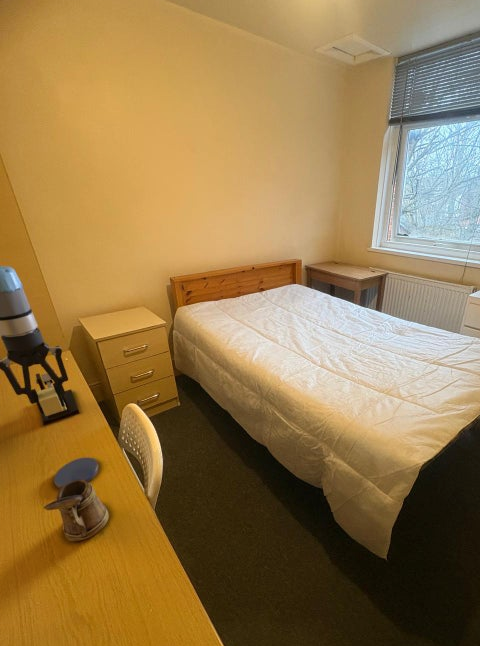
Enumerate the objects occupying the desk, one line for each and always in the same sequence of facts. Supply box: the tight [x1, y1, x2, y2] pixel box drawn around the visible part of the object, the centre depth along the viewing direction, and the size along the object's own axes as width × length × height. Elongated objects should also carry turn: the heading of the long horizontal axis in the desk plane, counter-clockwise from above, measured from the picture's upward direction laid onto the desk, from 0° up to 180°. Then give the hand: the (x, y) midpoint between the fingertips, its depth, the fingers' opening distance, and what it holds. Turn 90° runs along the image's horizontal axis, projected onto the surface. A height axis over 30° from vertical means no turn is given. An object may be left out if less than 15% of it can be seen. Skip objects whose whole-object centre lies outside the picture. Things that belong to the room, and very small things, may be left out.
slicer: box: [35, 369, 80, 426], centre depth 110 cm, size 16×10×14 cm, turn 40°
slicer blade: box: [40, 372, 71, 420], centre depth 105 cm, size 16×6×2 cm
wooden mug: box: [43, 479, 110, 542], centre depth 69 cm, size 9×14×18 cm, turn 27°
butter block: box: [36, 386, 63, 416], centre depth 88 cm, size 4×6×5 cm, turn 41°
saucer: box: [53, 457, 100, 490], centre depth 87 cm, size 10×10×1 cm
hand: (52, 407), depth 90 cm, fingers closed on butter block, 4 cm apart
